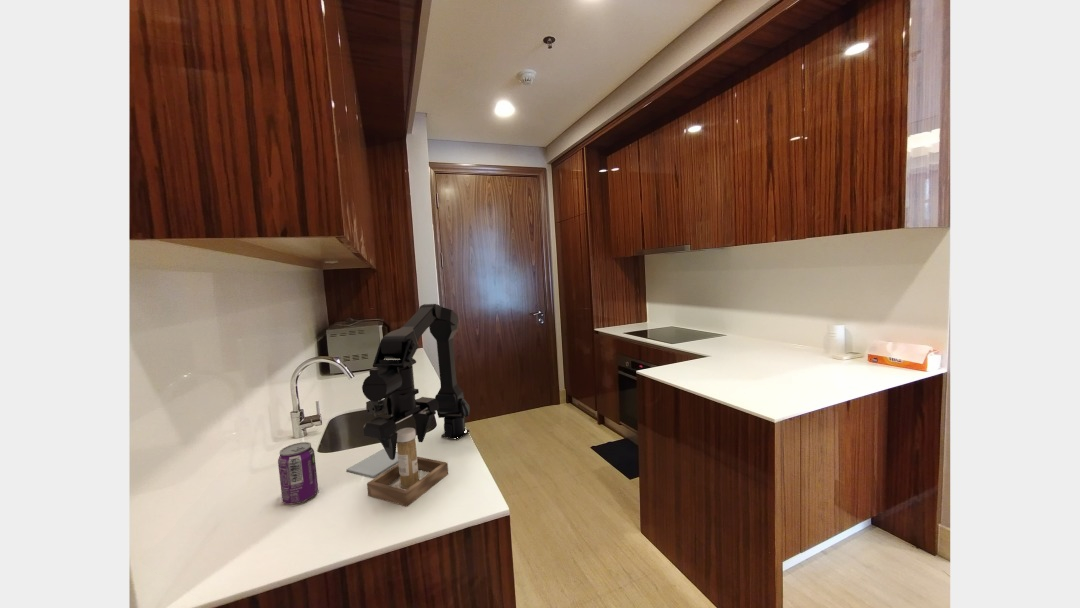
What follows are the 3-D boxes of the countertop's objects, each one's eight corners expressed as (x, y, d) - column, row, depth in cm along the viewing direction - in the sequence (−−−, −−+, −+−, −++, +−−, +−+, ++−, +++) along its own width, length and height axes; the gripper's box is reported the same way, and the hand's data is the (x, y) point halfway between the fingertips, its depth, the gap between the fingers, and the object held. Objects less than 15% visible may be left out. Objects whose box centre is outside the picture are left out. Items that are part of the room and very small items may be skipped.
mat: (382, 450, 109) (382, 448, 108) (408, 456, 104) (408, 454, 104) (346, 471, 98) (346, 469, 98) (373, 478, 94) (373, 476, 93)
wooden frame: (412, 466, 99) (411, 455, 98) (448, 473, 94) (447, 462, 93) (368, 495, 86) (366, 483, 86) (407, 506, 81) (406, 493, 81)
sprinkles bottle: (423, 483, 90) (418, 430, 89) (404, 492, 87) (399, 436, 86) (414, 477, 93) (410, 425, 92) (396, 484, 90) (391, 431, 89)
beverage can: (325, 490, 89) (320, 442, 88) (299, 508, 82) (293, 456, 82) (302, 487, 91) (297, 440, 90) (274, 504, 84) (269, 454, 83)
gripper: (405, 374, 100) (409, 430, 101) (343, 396, 83) (349, 463, 84) (438, 377, 95) (442, 435, 96) (379, 401, 78) (385, 472, 79)
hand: (407, 450), depth 89 cm, fingers open, 9 cm apart
